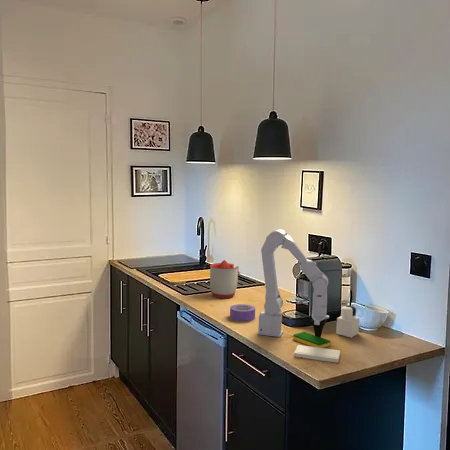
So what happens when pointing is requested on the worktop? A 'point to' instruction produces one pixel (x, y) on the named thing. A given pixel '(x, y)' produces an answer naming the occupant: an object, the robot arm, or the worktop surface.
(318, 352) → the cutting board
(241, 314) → the tape roll
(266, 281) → the robot arm
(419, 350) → the worktop surface
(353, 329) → the medicine bottle
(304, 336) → the dish sponge
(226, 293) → the citrus juicer
